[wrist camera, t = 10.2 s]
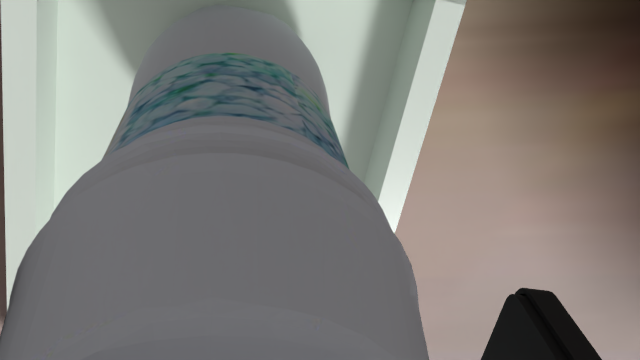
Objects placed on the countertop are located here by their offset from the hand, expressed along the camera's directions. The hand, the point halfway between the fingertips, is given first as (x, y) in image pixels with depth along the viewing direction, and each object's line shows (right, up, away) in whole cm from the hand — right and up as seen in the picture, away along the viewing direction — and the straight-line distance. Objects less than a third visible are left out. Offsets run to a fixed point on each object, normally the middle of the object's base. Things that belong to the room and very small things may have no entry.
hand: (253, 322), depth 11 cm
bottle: (-2, +6, +11) cm, 13 cm away
